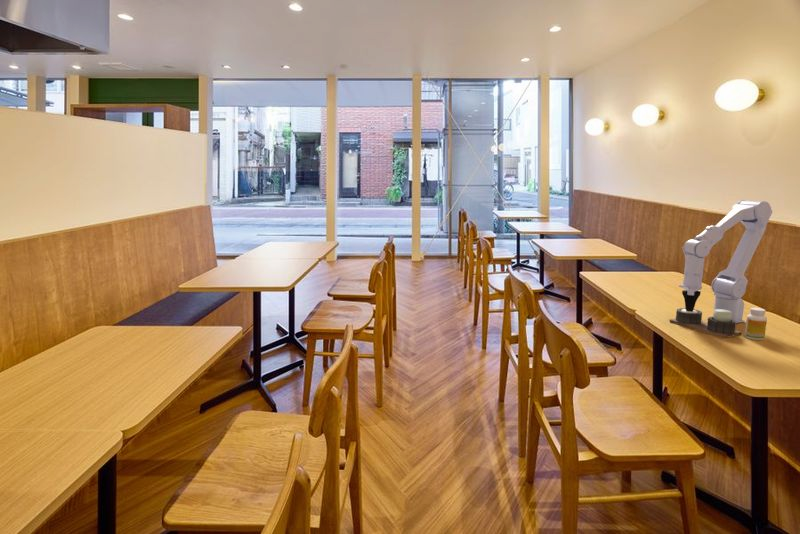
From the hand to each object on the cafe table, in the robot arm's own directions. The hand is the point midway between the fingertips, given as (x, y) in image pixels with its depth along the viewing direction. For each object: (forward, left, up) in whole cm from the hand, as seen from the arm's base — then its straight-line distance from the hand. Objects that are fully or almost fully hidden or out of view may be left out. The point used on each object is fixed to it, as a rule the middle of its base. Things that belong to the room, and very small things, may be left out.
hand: (689, 311), depth 182 cm
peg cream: (0, 0, -3) cm, 3 cm away
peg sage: (0, +12, 0) cm, 12 cm away
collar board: (0, +6, -4) cm, 7 cm away
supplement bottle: (-5, +20, -5) cm, 21 cm away
